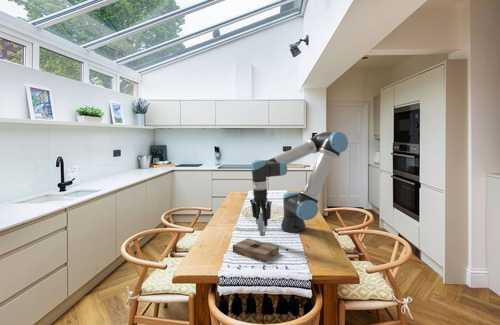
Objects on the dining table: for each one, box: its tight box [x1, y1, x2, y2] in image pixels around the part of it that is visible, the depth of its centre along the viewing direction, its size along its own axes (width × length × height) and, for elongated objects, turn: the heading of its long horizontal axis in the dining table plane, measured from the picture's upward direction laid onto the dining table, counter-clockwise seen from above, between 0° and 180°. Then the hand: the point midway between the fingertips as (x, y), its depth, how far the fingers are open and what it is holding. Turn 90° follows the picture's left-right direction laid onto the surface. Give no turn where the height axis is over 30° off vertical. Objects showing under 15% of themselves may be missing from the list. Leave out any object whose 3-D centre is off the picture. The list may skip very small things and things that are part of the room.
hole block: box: [232, 237, 280, 263], centre depth 139 cm, size 12×20×4 cm, turn 50°
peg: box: [259, 212, 266, 237], centre depth 152 cm, size 3×3×12 cm
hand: (262, 230), depth 153 cm, fingers closed on peg, 3 cm apart
